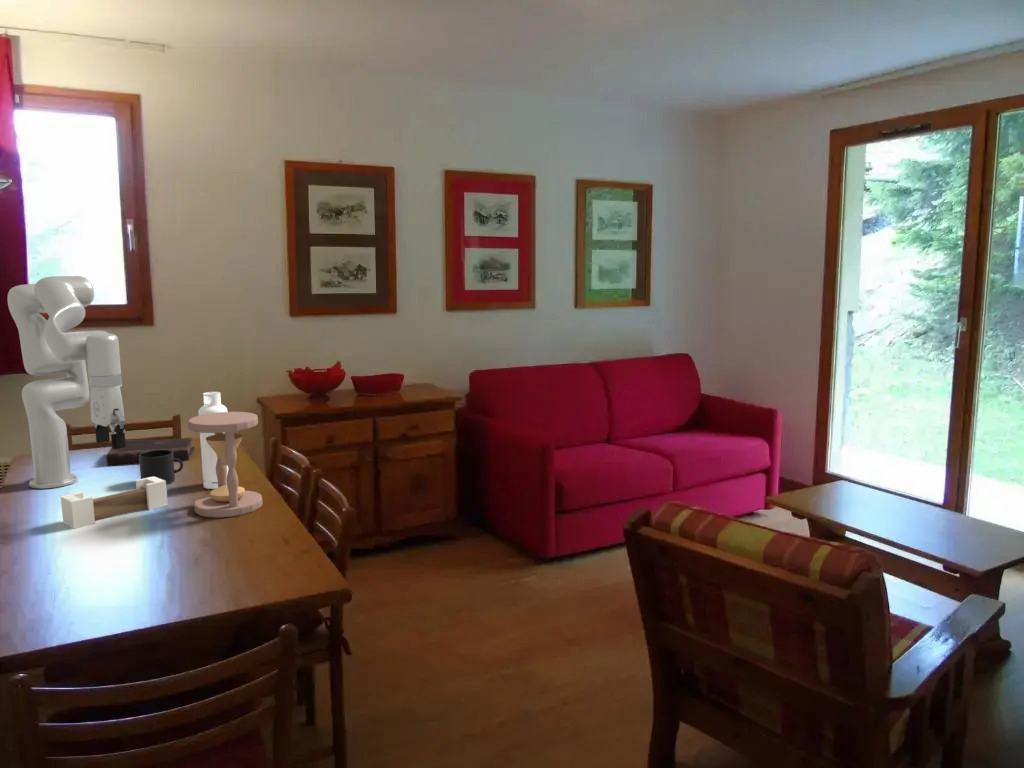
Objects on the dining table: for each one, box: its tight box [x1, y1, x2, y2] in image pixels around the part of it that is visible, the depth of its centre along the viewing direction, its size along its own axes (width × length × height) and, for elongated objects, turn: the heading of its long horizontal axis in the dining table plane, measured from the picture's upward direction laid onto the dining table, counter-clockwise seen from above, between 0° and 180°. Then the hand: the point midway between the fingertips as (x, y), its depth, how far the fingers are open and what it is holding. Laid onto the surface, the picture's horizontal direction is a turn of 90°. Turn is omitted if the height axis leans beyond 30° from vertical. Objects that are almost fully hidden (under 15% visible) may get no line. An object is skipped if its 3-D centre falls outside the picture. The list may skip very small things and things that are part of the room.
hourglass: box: [187, 411, 263, 519], centre depth 208 cm, size 18×18×25 cm
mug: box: [139, 450, 184, 486], centre depth 233 cm, size 9×12×9 cm
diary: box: [106, 437, 195, 467], centre depth 263 cm, size 19×25×5 cm
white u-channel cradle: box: [60, 476, 169, 529], centre depth 204 cm, size 7×24×7 cm, turn 140°
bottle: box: [197, 391, 229, 490], centre depth 229 cm, size 8×8×28 cm
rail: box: [93, 487, 148, 522], centre depth 205 cm, size 3×16×5 cm, turn 140°
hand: (110, 445), depth 203 cm, fingers open, 9 cm apart
